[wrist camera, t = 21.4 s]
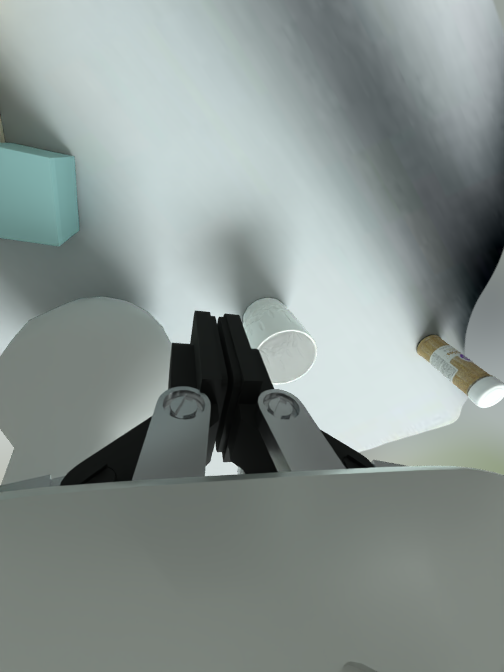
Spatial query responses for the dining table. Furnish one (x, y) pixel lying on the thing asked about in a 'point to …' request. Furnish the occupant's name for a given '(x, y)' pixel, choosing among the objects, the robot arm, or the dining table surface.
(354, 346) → the dining table surface
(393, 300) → the dining table surface
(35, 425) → the vase
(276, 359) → the white cup
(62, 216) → the keeper
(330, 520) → the robot arm
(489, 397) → the sprinkles bottle
